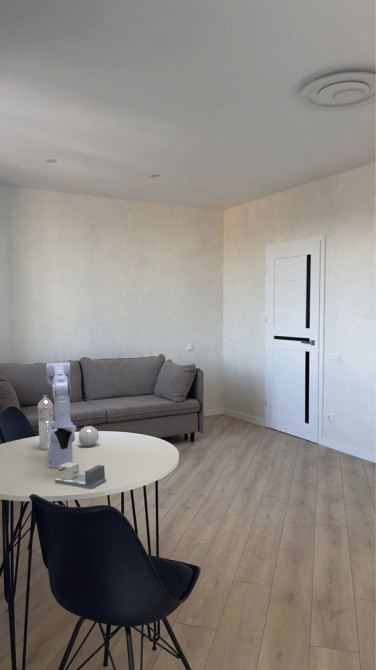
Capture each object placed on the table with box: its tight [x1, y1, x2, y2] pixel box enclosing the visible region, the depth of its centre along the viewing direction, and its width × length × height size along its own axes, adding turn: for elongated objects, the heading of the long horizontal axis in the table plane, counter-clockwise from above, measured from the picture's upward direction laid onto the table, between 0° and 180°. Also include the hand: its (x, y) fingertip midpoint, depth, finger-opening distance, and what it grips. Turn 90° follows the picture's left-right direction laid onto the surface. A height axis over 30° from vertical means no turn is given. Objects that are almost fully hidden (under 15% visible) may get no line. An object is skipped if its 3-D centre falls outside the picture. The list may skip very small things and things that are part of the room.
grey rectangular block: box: [84, 464, 106, 485], centre depth 173 cm, size 2×8×5 cm, turn 154°
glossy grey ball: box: [77, 425, 100, 448], centre depth 228 cm, size 9×10×15 cm
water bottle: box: [37, 394, 55, 451], centre depth 224 cm, size 7×7×25 cm
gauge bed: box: [54, 473, 107, 490], centre depth 176 cm, size 17×8×2 cm, turn 64°
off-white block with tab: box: [58, 461, 80, 480], centre depth 177 cm, size 6×8×5 cm
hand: (64, 448), depth 183 cm, fingers closed
